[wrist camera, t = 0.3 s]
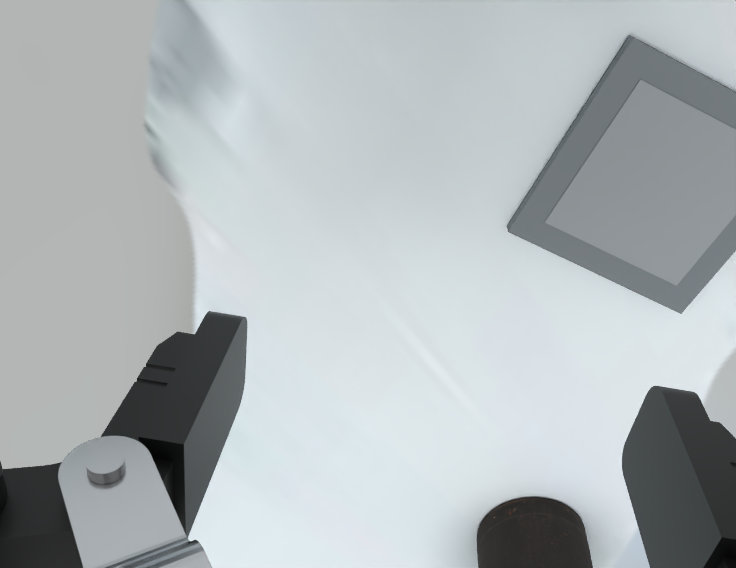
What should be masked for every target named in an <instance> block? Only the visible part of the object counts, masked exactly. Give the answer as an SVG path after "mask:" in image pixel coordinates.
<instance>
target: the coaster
mask: <svg viewBox="0 0 736 568" xmlns="http://www.w3.org/2000/svg"><path fill="white" fill-rule="evenodd" d="M507 228H508V232H510V233H512V234H514V235H516V236H518V237H520V238H522V239H525V240H527V241H529V242H531V243H533V244H535V245H537V246H539V247H541V248H544V249H546V250H548V251H550V252H552V253H554V254H556V255H558V256H560V257H562V258H565V259H567V260H569V261H571V262H573V263H575V264H577V265H579V266H581V267H584V268H586V269H588V270H590V271H592V272H594V273H596V274H598V275H600V276H603V277H605V278H607V279H609V280H611V281H613V282H615V283H617V284H619V285H621V286H624V287H626V288H628V289H630V290H632V291H634V292H636V293H638V294H640V295H643V296H645V297H647V298H649V299H651V300H653V301H655V302H657V303H659V304H661V305H664V306H666V307H668V308H670V309H672V310H674V311H676V312H678V313H680V314H681V313H682V312H683V311H684V310H685V309H686V308H687V306H688V305H689V304H690V303H691V302H692V301H693V299H694V298H695V297H696V296H697V295H698V294H699V292H700V291H701V290H702V289H703V288H704V287H705V286H706V284H707V283H708V282H709V281H710V280H711V279H712V277H713V276H714V275H715V274H716V273H717V272H718V270H719V269H720V268H721V267H722V266H723V265H724V263H725V262H726V261H727V260H728V259H729V258H730V257H731V255H732V254H733V253H734V252H735V251H736V92H735V91H733V90H731V89H729V88H727V87H725V86H723V85H722V84H720V83H718V82H716V81H714V80H712V79H710V78H708V77H707V76H705V75H703V74H701V73H699V72H697V71H695V70H694V69H692V68H690V67H688V66H686V65H684V64H682V63H680V62H679V61H677V60H675V59H673V58H671V57H669V56H667V55H665V54H664V53H662V52H660V51H658V50H656V49H654V48H652V47H650V46H649V45H647V44H645V43H643V42H641V41H639V40H637V39H635V38H634V37H632V36H630V35H629V36H628V38H627V39H626V41H625V43H624V44H623V46H622V47H621V49H620V50H619V52H618V53H617V55H616V57H615V58H614V60H613V61H612V63H611V64H610V66H609V68H608V69H607V71H606V72H605V74H604V75H603V77H602V78H601V80H600V82H599V83H598V85H597V86H596V88H595V89H594V91H593V93H592V94H591V96H590V97H589V99H588V100H587V102H586V103H585V105H584V107H583V108H582V110H581V111H580V113H579V114H578V116H577V117H576V119H575V121H574V122H573V124H572V125H571V127H570V128H569V130H568V132H567V133H566V135H565V136H564V138H563V139H562V141H561V142H560V144H559V146H558V147H557V149H556V150H555V152H554V153H553V155H552V157H551V158H550V160H549V161H548V163H547V164H546V166H545V167H544V169H543V171H542V172H541V174H540V175H539V177H538V178H537V180H536V182H535V183H534V185H533V186H532V188H531V189H530V191H529V192H528V194H527V196H526V197H525V199H524V200H523V202H522V203H521V205H520V207H519V208H518V210H517V211H516V213H515V214H514V216H513V217H512V219H511V221H510V222H509V224H508V225H507Z"/></svg>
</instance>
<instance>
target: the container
mask: <svg viewBox="0 0 736 568" xmlns="http://www.w3.org/2000/svg"><path fill="white" fill-rule="evenodd" d="M477 553H478V568H593V566H592V561H591V556H590V550H589V546H588V541H587V537H586V532H585V528H584V525H583V522H582V520H581V519H580V517H579V516H578V515H577V514H576V513H575V512H574V511H573V510H572V509H570V508H569V507H567V506H565V505H563V504H561V503H559V502H556V501H553V500H548V499H542V498H527V499H519V500H515V501H511V502H508V503H506V504H503V505H501V506H499V507H498V508H496V509H494V510H493V511H492V512H491V513H490V514H488V515H487V516H486V518H485V519H484V520H483V521H482V523H481V524H480V527H479V529H478V533H477Z"/></svg>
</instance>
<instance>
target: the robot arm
mask: <svg viewBox="0 0 736 568" xmlns="http://www.w3.org/2000/svg"><path fill="white" fill-rule="evenodd" d="M246 343H247V319H246V317H241V316H235V315H229V314H223V313H217V312H211V311H209V312H208V313H207V314H206V315H205V317H204V319H203V321H202V323H201V324H200V326H199V328H198V330H197V332H196V333H195V335H194V334H188V333H182V332H176V333H175V334H174V335H172V336H171V337H169V338H168V339H167V340H165V341H164V342H162V343H161V344H159V345H158V346H157V347H156V349H155V350H154V352H153V354H152V355H151V357H150V358H149V360H148V362H147V363H146V367H144V368H143V370H142V371H141V373H140V375H139V376H138V378H137V382H135V383H134V384H133V386H132V387H131V389H130V391H129V392H128V394H127V396H126V397H125V399H124V400H123V402H122V404H121V405H120V407H119V408H118V410H117V412H116V413H115V415H114V416H113V418H112V420H111V421H110V423H109V425H108V426H107V428H106V429H105V431H104V433H103V434H102V436H101V437H100V438H95V439H92V440H89V441H87V442H85V443H83V444H81V445H79V446H78V447H76V448H74V449H73V450H72V451H71V452H70V453H69V454H68V455H67V456H66V457H65V458H64V460H63V461H62V462H61V463H57V464H52V465H45V466H36V467H24V468H12V469H2V466H1V462H0V568H212V566H211V564H210V562H209V560H208V557H207V555H206V553H205V551H204V549H203V547H202V546H201V544H200V543H199V542H198V541H197V540H194V541H191V542H190V541H189V540H188V535H189V533H190V530H191V528H192V525H193V523H194V520H195V518H196V515H197V513H198V510H199V508H200V505H201V503H202V500H203V498H204V495H205V492H206V490H207V487H208V485H209V482H210V480H211V477H212V475H213V472H214V470H215V467H216V465H217V462H218V460H219V457H220V455H221V452H222V449H223V447H224V444H225V442H226V439H227V437H228V434H229V432H230V429H231V427H232V424H233V422H234V419H235V417H236V414H237V412H238V409H239V406H240V403H241V399H242V395H243V390H244V383H245V368H246ZM622 470H623V475H624V479H625V482H626V486H627V489H628V493H629V496H630V499H631V503H632V506H633V510H634V513H635V517H636V520H637V524H638V527H639V531H640V534H641V538H642V541H643V544H644V547H645V551H646V555H647V558H648V562H649V565H650V568H736V439H735V437H733V435H732V434H731V433H730V432H729V431H728V430H727V429H726V428H725V427H724V426H723V425H722V424H720V423H719V422H713V421H710V420H709V417H708V415H707V413H706V411H705V409H704V407H703V405H702V403H701V400H700V398H699V397H698V395H697V394H696V393H694V392H690V391H684V390H678V389H672V388H666V387H660V386H653V387H652V388H651V389H650V390H649V391H648V393H647V395H646V397H645V399H644V402H643V404H642V406H641V408H640V410H639V413H638V415H637V417H636V419H635V422H634V424H633V426H632V428H631V431H630V433H629V435H628V437H627V440H626V442H625V445H624V449H623V455H622Z"/></svg>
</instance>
